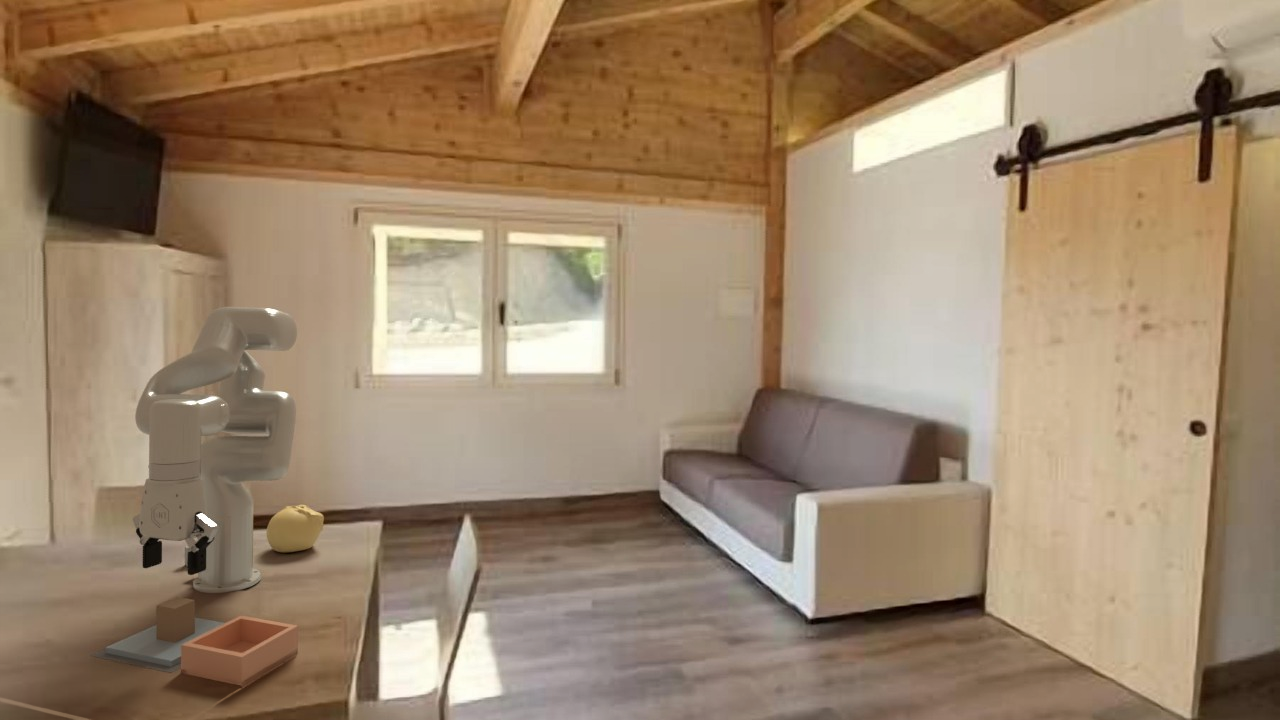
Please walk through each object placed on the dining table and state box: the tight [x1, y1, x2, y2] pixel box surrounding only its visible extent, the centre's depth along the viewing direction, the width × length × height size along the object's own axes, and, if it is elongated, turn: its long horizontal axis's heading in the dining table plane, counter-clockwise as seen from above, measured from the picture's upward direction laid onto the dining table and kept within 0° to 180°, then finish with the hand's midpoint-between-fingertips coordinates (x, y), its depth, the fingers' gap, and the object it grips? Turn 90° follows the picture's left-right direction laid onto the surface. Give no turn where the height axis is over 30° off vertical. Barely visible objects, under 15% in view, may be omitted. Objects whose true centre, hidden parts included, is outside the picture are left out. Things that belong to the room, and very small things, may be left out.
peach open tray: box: [180, 615, 299, 689], centre depth 119 cm, size 12×12×5 cm
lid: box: [105, 596, 226, 667], centre depth 125 cm, size 14×14×7 cm
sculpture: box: [266, 504, 325, 553], centre depth 176 cm, size 11×12×11 cm
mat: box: [90, 648, 181, 674], centre depth 125 cm, size 17×17×1 cm
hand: (174, 569), depth 124 cm, fingers open, 9 cm apart
